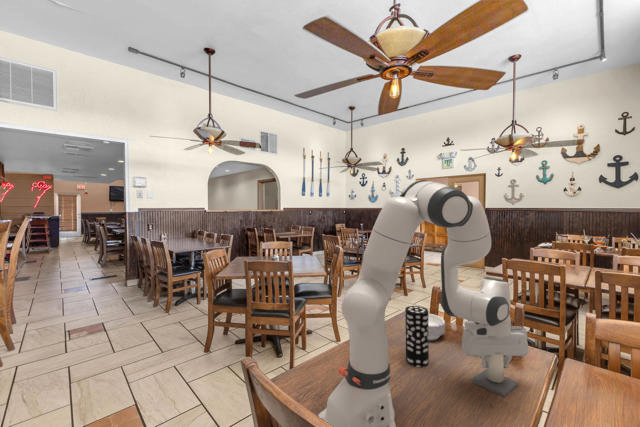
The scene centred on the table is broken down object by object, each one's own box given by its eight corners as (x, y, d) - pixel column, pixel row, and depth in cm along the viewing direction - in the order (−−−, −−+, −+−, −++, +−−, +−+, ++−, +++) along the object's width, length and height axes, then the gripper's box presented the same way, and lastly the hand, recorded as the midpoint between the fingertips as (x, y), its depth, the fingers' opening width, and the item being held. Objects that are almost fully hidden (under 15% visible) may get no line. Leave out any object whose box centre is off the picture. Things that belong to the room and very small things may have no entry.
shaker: (496, 383, 94) (496, 353, 94) (482, 375, 99) (482, 347, 99) (507, 380, 96) (507, 350, 96) (493, 372, 101) (493, 344, 100)
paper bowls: (435, 347, 123) (435, 328, 123) (403, 335, 134) (403, 318, 134) (451, 335, 133) (451, 318, 133) (420, 326, 144) (420, 310, 144)
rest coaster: (504, 397, 91) (504, 394, 91) (471, 381, 99) (471, 378, 99) (518, 385, 96) (518, 382, 96) (486, 371, 105) (486, 368, 105)
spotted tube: (430, 368, 107) (430, 314, 107) (406, 366, 109) (406, 313, 108) (426, 356, 115) (426, 306, 115) (404, 354, 117) (404, 305, 116)
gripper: (520, 322, 100) (520, 362, 100) (459, 322, 101) (459, 361, 101) (533, 330, 93) (533, 372, 94) (468, 330, 94) (468, 372, 95)
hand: (494, 367), depth 97 cm, fingers closed on shaker, 5 cm apart
